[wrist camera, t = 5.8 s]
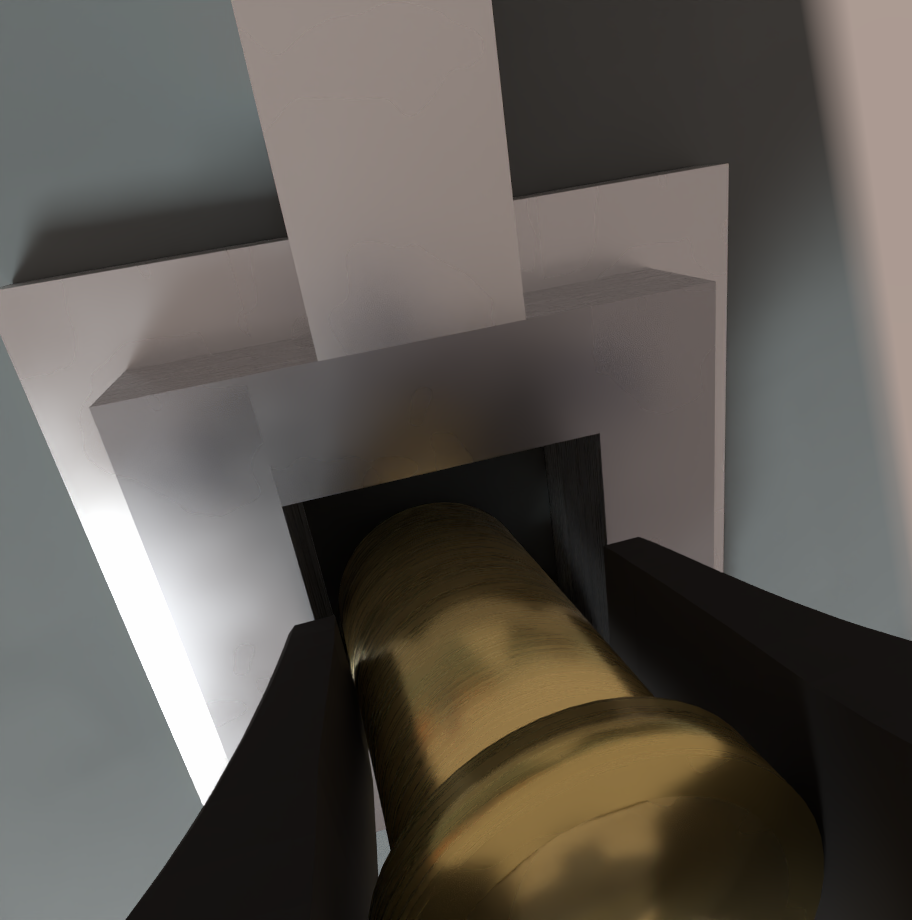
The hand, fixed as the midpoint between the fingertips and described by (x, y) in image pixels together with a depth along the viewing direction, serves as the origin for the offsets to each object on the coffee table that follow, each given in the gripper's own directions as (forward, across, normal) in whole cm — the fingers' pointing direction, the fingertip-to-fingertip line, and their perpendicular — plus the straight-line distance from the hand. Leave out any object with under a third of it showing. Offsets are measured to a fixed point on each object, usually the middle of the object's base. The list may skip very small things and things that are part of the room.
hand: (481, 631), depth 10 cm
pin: (+2, 0, 0) cm, 2 cm away
